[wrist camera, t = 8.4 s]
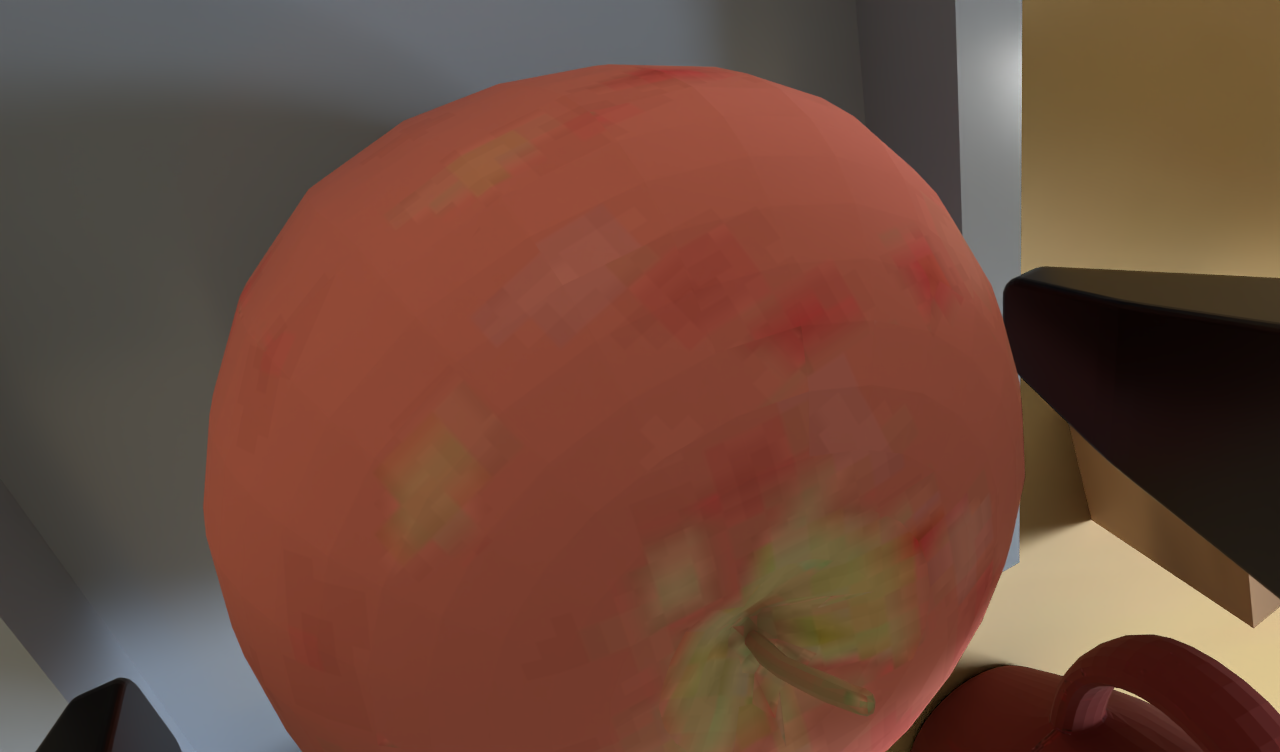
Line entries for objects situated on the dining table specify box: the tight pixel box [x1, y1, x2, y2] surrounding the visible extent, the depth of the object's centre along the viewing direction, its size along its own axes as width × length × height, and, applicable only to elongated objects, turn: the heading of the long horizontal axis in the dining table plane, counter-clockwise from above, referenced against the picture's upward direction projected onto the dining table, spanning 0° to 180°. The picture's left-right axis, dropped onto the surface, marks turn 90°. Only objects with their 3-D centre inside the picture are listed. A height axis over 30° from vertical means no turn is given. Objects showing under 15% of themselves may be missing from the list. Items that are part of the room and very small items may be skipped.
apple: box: [203, 64, 1025, 752], centre depth 9 cm, size 7×7×8 cm
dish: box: [0, 0, 1022, 752], centre depth 12 cm, size 14×14×3 cm
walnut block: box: [1069, 425, 1280, 628], centre depth 19 cm, size 4×4×4 cm
